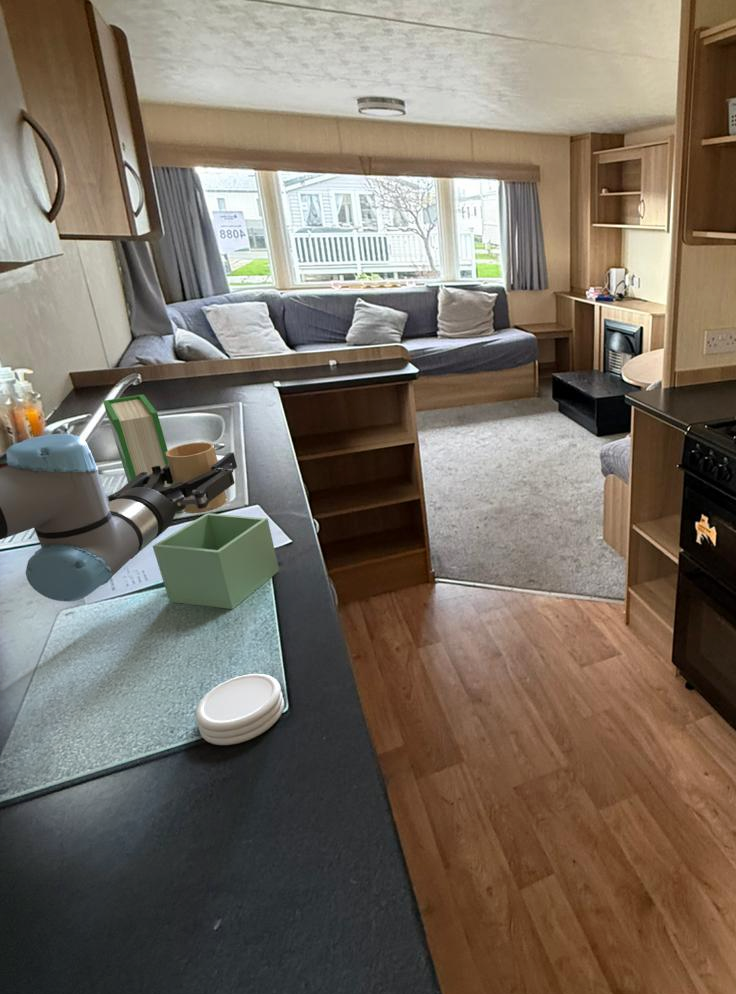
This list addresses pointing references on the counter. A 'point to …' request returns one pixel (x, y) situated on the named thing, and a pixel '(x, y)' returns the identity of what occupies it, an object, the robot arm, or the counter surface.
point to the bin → (217, 560)
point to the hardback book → (137, 435)
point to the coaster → (239, 709)
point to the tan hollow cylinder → (194, 469)
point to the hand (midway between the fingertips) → (210, 460)
